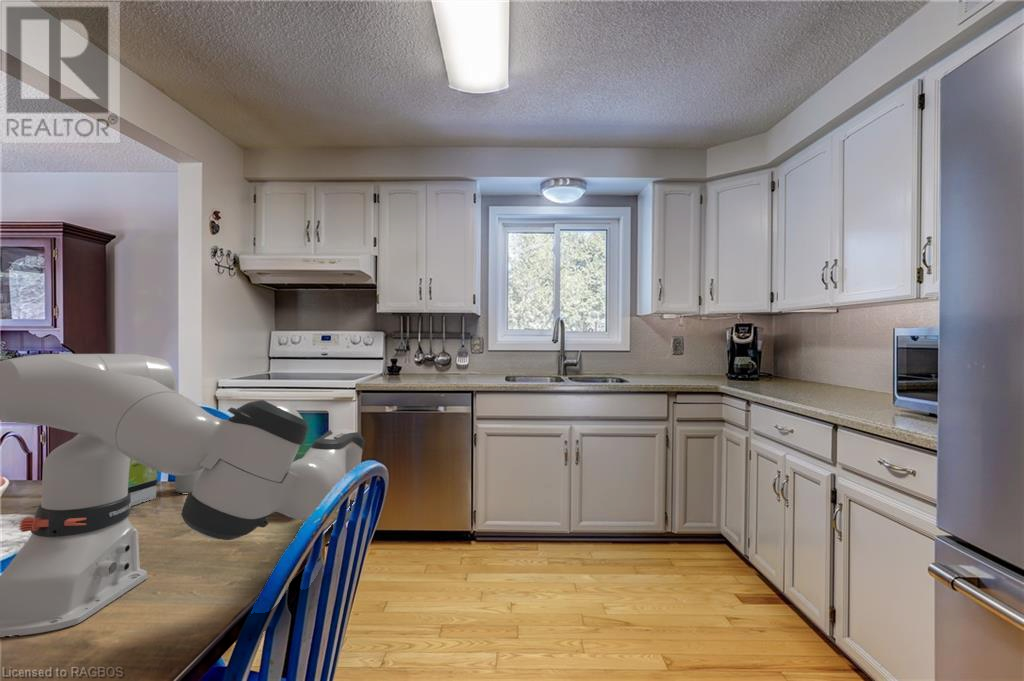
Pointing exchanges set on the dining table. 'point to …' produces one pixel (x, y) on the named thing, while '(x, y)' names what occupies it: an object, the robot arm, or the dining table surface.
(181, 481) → the can
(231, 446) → the robot arm
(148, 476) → the tea box
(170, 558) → the dining table surface
